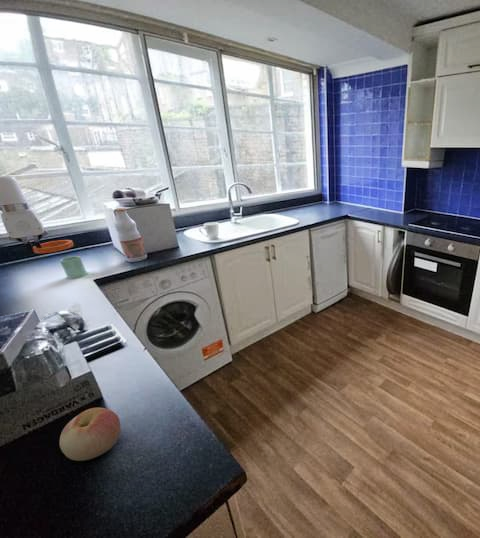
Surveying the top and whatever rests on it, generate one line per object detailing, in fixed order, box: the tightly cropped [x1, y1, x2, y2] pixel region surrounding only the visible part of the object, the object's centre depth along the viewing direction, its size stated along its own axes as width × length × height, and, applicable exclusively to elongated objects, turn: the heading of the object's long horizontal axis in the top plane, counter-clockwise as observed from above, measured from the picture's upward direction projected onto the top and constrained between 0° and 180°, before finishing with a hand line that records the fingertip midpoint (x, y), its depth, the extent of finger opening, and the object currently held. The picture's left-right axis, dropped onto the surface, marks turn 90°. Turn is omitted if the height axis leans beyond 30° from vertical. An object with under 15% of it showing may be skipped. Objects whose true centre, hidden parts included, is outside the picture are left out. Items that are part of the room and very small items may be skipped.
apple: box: [59, 406, 121, 462], centre depth 58 cm, size 9×9×8 cm
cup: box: [59, 255, 88, 280], centre depth 140 cm, size 7×7×9 cm
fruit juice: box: [113, 207, 148, 263], centre depth 156 cm, size 9×9×28 cm
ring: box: [32, 239, 74, 254], centre depth 128 cm, size 12×12×2 cm
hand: (36, 250), depth 125 cm, fingers closed on ring, 1 cm apart
